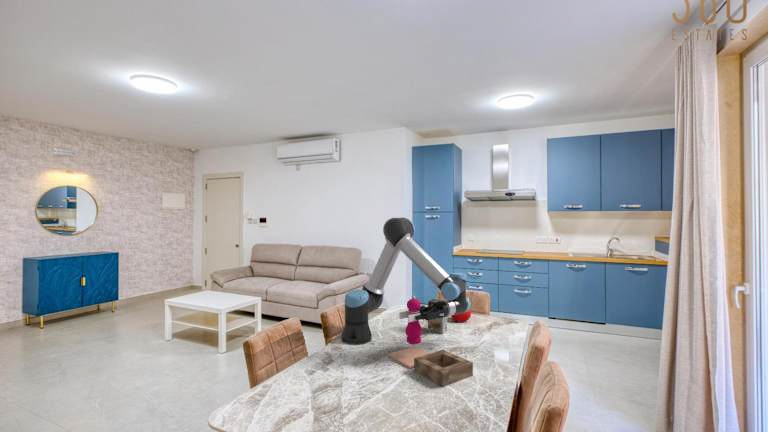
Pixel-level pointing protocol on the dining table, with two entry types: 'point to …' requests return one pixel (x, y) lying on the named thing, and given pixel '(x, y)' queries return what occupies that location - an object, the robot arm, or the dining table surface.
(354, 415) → the dining table surface
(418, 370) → the walnut holder
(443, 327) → the coffee box
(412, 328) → the pepper mill
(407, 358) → the terracotta tile
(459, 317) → the tomato
